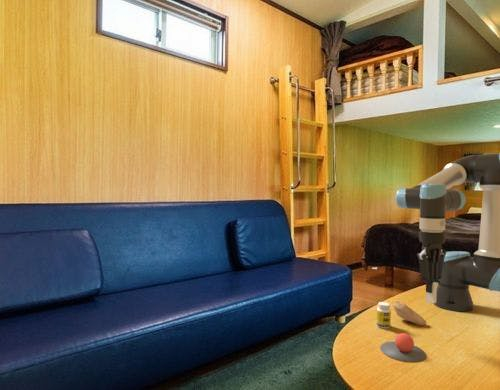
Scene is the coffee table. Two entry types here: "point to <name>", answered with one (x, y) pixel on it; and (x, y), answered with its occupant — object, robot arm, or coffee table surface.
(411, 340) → the ball
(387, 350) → the disc
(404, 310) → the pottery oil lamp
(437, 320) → the coffee table surface
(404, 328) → the coffee table surface
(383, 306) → the supplement bottle
